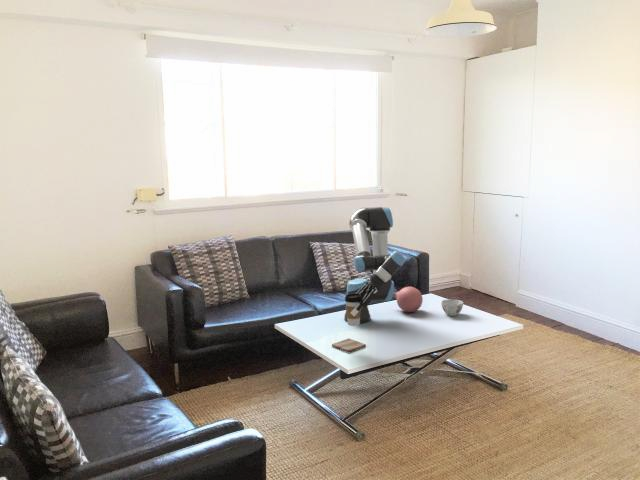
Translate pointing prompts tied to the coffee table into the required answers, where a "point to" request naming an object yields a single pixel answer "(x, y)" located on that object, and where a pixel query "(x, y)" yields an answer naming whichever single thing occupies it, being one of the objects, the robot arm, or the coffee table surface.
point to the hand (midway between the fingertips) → (349, 312)
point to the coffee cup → (350, 305)
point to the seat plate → (349, 345)
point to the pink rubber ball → (409, 299)
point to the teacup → (452, 307)
